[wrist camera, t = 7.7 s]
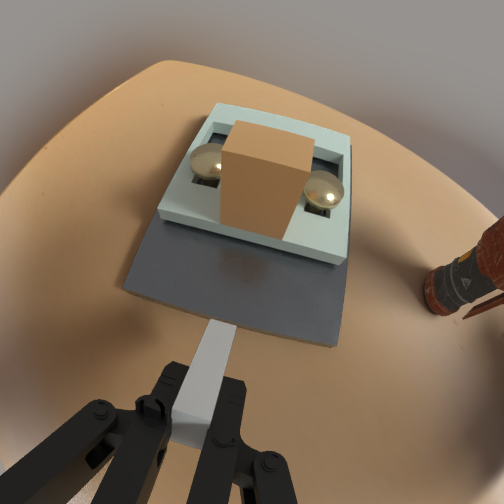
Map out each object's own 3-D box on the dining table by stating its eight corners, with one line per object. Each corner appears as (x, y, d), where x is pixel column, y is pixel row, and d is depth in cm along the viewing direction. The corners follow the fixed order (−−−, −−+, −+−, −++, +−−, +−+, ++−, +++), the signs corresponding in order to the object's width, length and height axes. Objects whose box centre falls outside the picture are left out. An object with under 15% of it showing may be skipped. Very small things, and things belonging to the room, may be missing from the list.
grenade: (438, 342, 22) (553, 298, 9) (410, 280, 25) (513, 204, 12) (464, 317, 24) (561, 268, 10) (438, 262, 27) (526, 192, 13)
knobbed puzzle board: (345, 145, 30) (374, 83, 21) (339, 265, 23) (397, 202, 14) (217, 112, 30) (219, 44, 21) (160, 218, 23) (135, 136, 14)
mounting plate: (347, 153, 32) (362, 123, 27) (330, 347, 22) (358, 339, 17) (212, 118, 32) (213, 85, 27) (128, 292, 22) (105, 270, 17)
